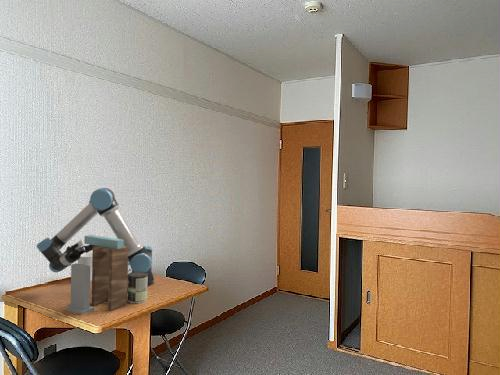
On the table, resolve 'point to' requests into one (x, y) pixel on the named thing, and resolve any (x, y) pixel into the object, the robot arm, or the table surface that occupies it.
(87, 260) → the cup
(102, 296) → the walnut wood block
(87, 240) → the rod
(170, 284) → the table surface
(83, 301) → the pedestal
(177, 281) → the table surface
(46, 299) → the table surface
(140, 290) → the coffee can
